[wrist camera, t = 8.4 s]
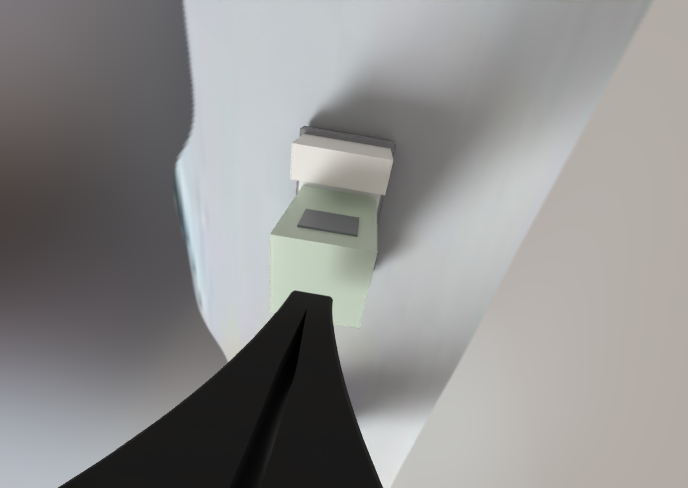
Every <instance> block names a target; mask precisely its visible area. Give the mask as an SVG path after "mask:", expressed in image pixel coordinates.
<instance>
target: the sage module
mask: <svg viewBox="0 0 688 488" xmlns="http://www.w3.org/2000/svg"><path fill="white" fill-rule="evenodd" d="M377 253H378V249H377V203H376V198H373V197H367V196H361V195H355V194H349V193H343V192H337V191H331V190H325V189H319V188H313V187H307V186H302V187H301V189H300V190H299V192H298V193H297V195H296V196H295V198H294V199H293V201H292V202H291V204H290V205H289V207H288V208H287V210H286V211H285V213H284V214H283V216H282V217H281V219H280V220H279V222H278V223H277V225H276V226H275V228H274V229H273V231H272V232H271V234H270V313H272V314H275V313H276V312H277V311H278V310H279V308H280V307H281V306H282V304H283V303H284V302H285V301H286V299H287V298H288V296H289V295H290V293H291V292H293V291H294V290H296V291H302V292H308V293H313V294H319V295H325V296H330V297H331V298H332V299H333V304H332V315H333V324H336V325H342V326H348V327H354V328H360V324H361V319H362V315H363V311H364V307H365V303H366V299H367V294H368V290H369V286H370V282H371V278H372V274H373V269H374V265H375V261H376V257H377Z"/></svg>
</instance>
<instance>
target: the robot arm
mask: <svg viewBox="0 0 688 488" xmlns="http://www.w3.org/2000/svg"><path fill="white" fill-rule="evenodd" d="M332 304H333V299H332V298H331V297H330V296H325V295H319V294H313V293H308V292H302V291H296V290H294V291H293V292H291V293H290V295H289V296H288V298H287V299H286V301H285V302H284V303H283V304H282V306H281V307H280V308H279V310H278V311H277V312H276V313H275V314H274V316H273V317H272V318H271V319H270V320H269V321H268V322H267V324H266V325H265V326H264V327H263V328H262V329H261V330H260V331H259V332H258V333H257V335H256V336H255V337H254V338H253V339H252V340H251V341H250V342H249V343H248V344H247V345H246V346H245V347H244V348H243V349H242V350H241V351H240V352H239V353H238V354H237V355H236V356H235V357H234V358H233V359H232V360H231V361H229V362H228V363H227V364H226V365H225V366H224V367H223V368H222V369H221V370H220V371H218V372H217V373H216V374H215V375H214V376H213V377H212V378H210V379H209V380H208V381H207V382H206V383H205V384H203V385H202V386H201V387H200V388H199V389H197V390H196V391H195V392H194V393H192V394H191V395H190V396H189V397H188V398H186V399H185V400H184V401H182V402H181V403H180V404H179V405H177V406H176V407H175V408H174V409H172V410H171V411H170V412H169V413H167V414H166V415H164V416H163V417H162V418H160V419H159V420H158V421H156V422H155V423H154V424H152V425H151V426H149V427H148V428H147V429H145V430H143V431H142V432H141V433H139V434H138V435H136V436H135V437H134V438H132V439H131V440H129V441H128V442H127V443H125V444H124V445H122V446H121V447H119V448H118V449H117V450H115V451H114V452H112V453H111V454H109V455H108V456H106V457H105V458H103V459H102V460H101V461H99V462H97V463H96V464H94V465H93V466H91V467H90V468H88V469H87V470H85V471H84V472H82V473H80V474H79V475H77V476H76V477H74V478H72V479H71V480H69V481H68V482H66V483H65V484H63V485H61V486H60V487H58V488H383V487H382V484H381V482H380V479H379V477H378V474H377V472H376V470H375V467H374V465H373V462H372V460H371V457H370V455H369V452H368V450H367V447H366V445H365V442H364V440H363V437H362V434H361V431H360V428H359V425H358V423H357V420H356V417H355V414H354V411H353V408H352V405H351V402H350V398H349V395H348V392H347V388H346V385H345V381H344V377H343V373H342V369H341V365H340V361H339V356H338V351H337V346H336V340H335V334H334V327H333V315H332Z"/></svg>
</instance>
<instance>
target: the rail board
mask: <svg viewBox="0 0 688 488" xmlns="http://www.w3.org/2000/svg"><path fill="white" fill-rule="evenodd" d="M394 149H395V142H394V141H390V140H384V139H378V138H373V137H367V136H361V135H355V134H349V133H343V132H337V131H331V130H326V129H320V128H314V127H308V126H304V127H302V128H301V129H300V137H299V138H298V139H296V140H295V141H294V142H293V143H292V151H291V172H290V179H292V180H297V189H296V195H297V193H298V192H299V190H300V189H301V187H302V186H307V187H313V188H319V189H325V190H331V191H337V192H343V193H349V194H355V195H361V196H367V197H373V198H376V203H377V223H378V218H379V214H380V210H381V205H382V201H383V197H384V195H385V194H386V190H387V185H388V181H389V177H390V173H391V168H392V164H393V153H394Z"/></svg>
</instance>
